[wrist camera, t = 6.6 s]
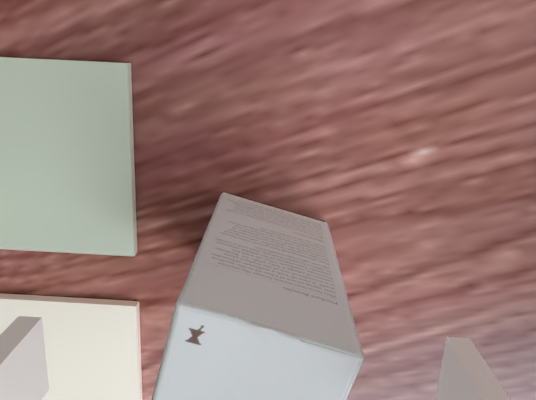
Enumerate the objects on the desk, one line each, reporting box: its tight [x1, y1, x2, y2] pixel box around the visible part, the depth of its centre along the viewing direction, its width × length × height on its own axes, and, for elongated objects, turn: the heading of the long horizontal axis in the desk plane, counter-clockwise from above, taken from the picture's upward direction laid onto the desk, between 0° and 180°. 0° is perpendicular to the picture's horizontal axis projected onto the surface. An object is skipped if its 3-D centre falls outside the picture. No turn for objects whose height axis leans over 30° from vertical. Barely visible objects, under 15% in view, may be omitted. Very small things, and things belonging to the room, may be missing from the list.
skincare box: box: [152, 192, 364, 400], centre depth 21 cm, size 6×4×12 cm
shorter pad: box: [0, 57, 137, 256], centre depth 25 cm, size 12×10×1 cm
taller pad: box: [0, 293, 142, 400], centre depth 29 cm, size 12×10×1 cm
